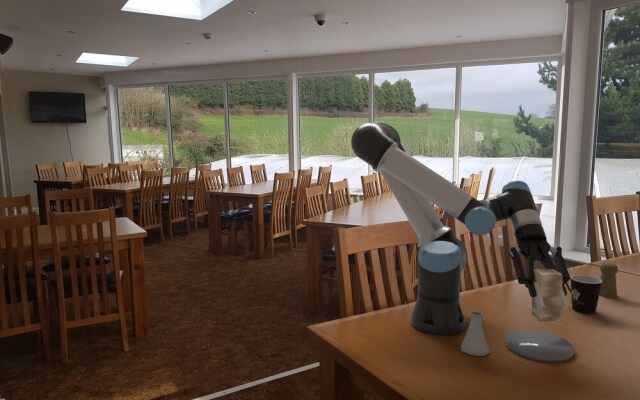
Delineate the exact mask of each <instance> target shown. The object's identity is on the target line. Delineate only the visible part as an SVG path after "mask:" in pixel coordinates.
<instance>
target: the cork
mask: <svg viewBox="0 0 640 400" xmlns="http://www.w3.org/2000/svg"><path fill="white" fill-rule="evenodd" d="M599 271H600V272H601V273H600V276H599V279H601V280H602V285H601V290H600V294H599V297H603V298H609V299H610V298H611V299H614V298H617V297H618V289H617V274H618V273H619V272H618V271H619V268H618V265H616V264H615V263H610V262H602V263H601V264H600V266H599Z"/></svg>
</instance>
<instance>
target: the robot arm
mask: <svg viewBox="0 0 640 400" xmlns="http://www.w3.org/2000/svg"><path fill="white" fill-rule="evenodd" d="M350 140H351V141H350V146H351V149H352V151H353V153H354V154H355V156H356V157H358V158H359V159H360V160H361V161H363V162H365V163H366V164H368V165H370V166H371V168H372V170H373V171H374V172H375V173H380V174H381V175H382V178H383V179H384V181H385V182H386V184H387V186H388V188H389V189H390V191H391V194H393V196H394V197H395V200H396V201H397V203H398V205H399V207H400V208H401V210H402V212H403V214H404V215H405V217H406V218H407V221H408V222H409V224H410V225H411V227H412V229H413V231H414V232H415V234H416V235H417V237H418V241H417V247H418V248H419V249H418V250H419V251H418V255H417V260H418V261H417V262H418V270H417V272H418V273H417V274H418V275H417V298H416V300H415V304H414V305H413V306H414V307H413V310H412V312H411V315H410V323H411V325H412V327H414V329H417V330H419V331H420V332H423V333H427V334H432V335H437V336H438V335H439V336H441V335H442V336H443V335H444V336H445V335H446V336H447V335H454V334H455V335H456V334H458V333H461V332H463V331H464V330H465V326H466V324H465V323H466V319H465V315H464V312H463V309H462V305H461V301H460V291H461V274H462V272H463V270H464V269H465V267H466V265H467V261H468V251H467V248H466V246H465V244H464V243H463V241H462V240H460V238H458V237H457V236H456V234H455V232H454V231H453V229H452V228H451V227H449V226H446V225H444V224H443V223H442V221H441V219H440V217H439V215H438V214H437V212H436V210H435V209H434V207H433V206H432V205H433V204H434V205H436V206H437V207H439V208H440V209H442V210H443V211H444V212H446V213H447V214H449V215H450V216H451V217H452V218H453V217H454V219H456V220H458V221H459V222H460V223H462V224H463V225H464V226H465V227H466V229H467V230H468V231H469V232H470V233H472V234H473V235H475V236H485V235H487V234H489V233H490V232H492V230H493V229H495V227H496V224H497V222H502V221H504V220H507V219H509V220H510V225H511V228H512V231H513V234H514V237H515V241H516V244H517V246H516V247H514V246H511V247H510V249H509V250H508V255H509V257H510V258H511V260H512V264H513V268H514V271H515V275H516V280H517V282H518V284H519V285H524V287H525V288H526V289H528V294H529V296H530V298H532V297H534V299H535V303H536V306H537V310H538V311H541V310H542V309H543V308H544V307H545V305H544V302H543V299H542V295H541V292H540V289H539V286H538V283H537V282H534V270H533V269H535V268H534V267H535V265H534V263H535V261H537V262H540V264H541V265H543V267H544V269H554V270H556V271H557V272H559V273H561V274H562V275H563V279H562V296H561V312H565V311H566V310H567V309H568V307H569V303H568V301H567V298H566V297H567V295H568V291H567V286H566V284H567V283H569V281H571V280H570V277H571V275H570V273H569V270H568V267H567V265H566V262H565V259H564V257H563V253H562V252H563V248H562V247H561V246H557V247H553V246H551V244H550V243H549V242H548V241H547V235H546V232H545V229H544V227H543V222H542V219H541V218H540V216H539V213H538V209H537V205H536V203H535V199H534V197H533V194H532V192H531V189H530V187H529V184H528V183H526V182H525V181H523V180H512V181H508V182H507V184H504V185H503V186H502V188H501V193H499V194H496V195H495V196H490V197H487V198H484V199H481V200H478V199H477V198H475V197H474V196H472V195H471V194H469V193H467V192H466V191H465V190H463V189H462V188H460V187H459V186H457V185H456V184H454V183H452V181H450V180H449V179H446V178H445V177H443V176H442V175H441V174H439V173H437V172H436V171H434V170H432V169H431V168H429V167H428V166H426V165H425V164H424V163H422V162H421V161H419V160H417V158H414V157H413V156H411V155H410V154H408V153H407V151H406V150H405V148H404V146H403V144H402V143H401V137H400V134H399V132H398V130H397V129H396V128H394V127H393V126H392V125H390V124H388V123H384V122H365V123H362V124H360V125H359V126H358V127H356V128H355V130H354V131H353V132H352V135H351V139H350ZM549 252H550V253H551V255H550V254H549ZM520 254H521V255H522V256H523V257H524V260H525V261H524V263H525V271H524V266H523V263H522V258H521V255H520ZM551 256H552V257H553V260H554V261H552V257H551Z"/></svg>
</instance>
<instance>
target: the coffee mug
mask: <svg viewBox="0 0 640 400" xmlns="http://www.w3.org/2000/svg"><path fill="white" fill-rule="evenodd" d="M569 281H570V286H569V284H568V283H569V282H567V284H565V287H566V289H568V291H569V292H570V295H571V309H572V310H573V311H575V312H576V313H580V314H586V315H591V314H595V313H597V312H596V311H597V307H598V302H599V298H600V296H599V294H600V290H601V285H602V280H601V279H600V277H599V278H598V277H595V276H592V275H591V276H590V275H586V274H585V275H583V274H574V275H570V280H569Z"/></svg>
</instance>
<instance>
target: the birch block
mask: <svg viewBox="0 0 640 400" xmlns="http://www.w3.org/2000/svg"><path fill="white" fill-rule="evenodd" d="M533 270H534V282H537V283H538V286H539V289H540V292H541V295H542V299H543V302H544V305H545V307H544V308H543V309H542V310H541V311H538V310H537V306H536V303H535V299H534V297H531V315H532V316H533V317H534V318H535V319H537V320H538V321H539V322H561V315H562V311H561V296H562V279H563V275H562V274H561V273H559V272H557V271H556V270H554V269H546V268H534V269H533Z"/></svg>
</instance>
